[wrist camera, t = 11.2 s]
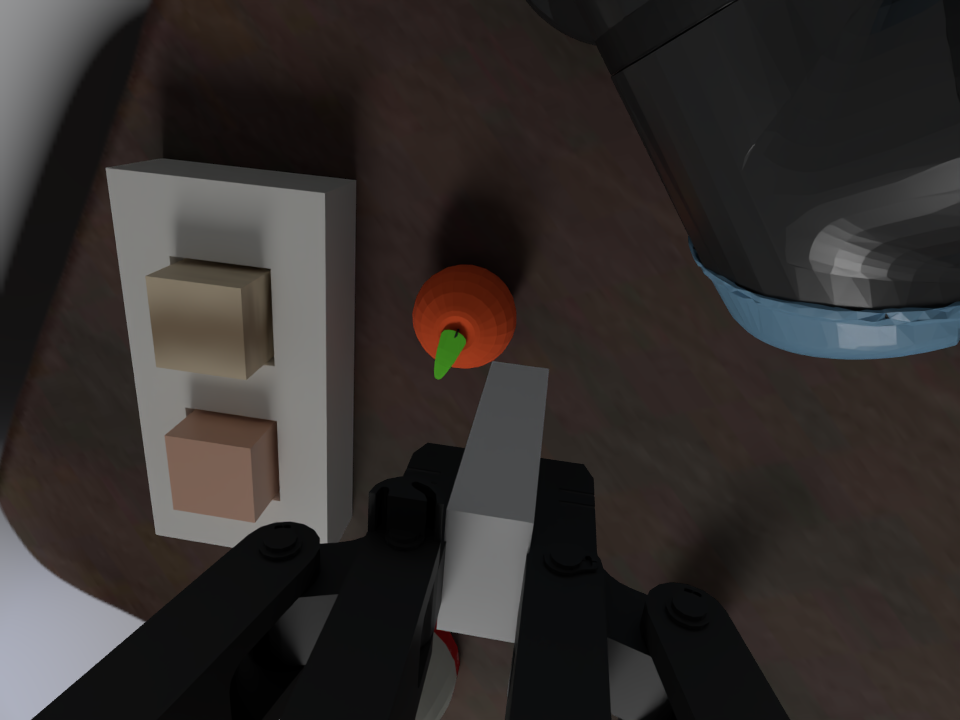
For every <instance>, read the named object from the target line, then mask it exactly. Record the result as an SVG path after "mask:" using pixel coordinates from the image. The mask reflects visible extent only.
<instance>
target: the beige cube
mask: <svg viewBox="0 0 960 720" xmlns="http://www.w3.org/2000/svg"><path fill="white" fill-rule="evenodd" d="M145 279H146V287H147V295H148V304H149V312H150V320H151V328H152V337H153V345H154V353H155V361H156V367H159V368H166V369H172V370H179V371H186V372H193V373H200V374H207V375H214V376H221V377H228V378H235V379H242V380H247V379H248V378H249V377H250V376H252V375H253V374H254V373H255V372H256V371H257V370H258V369H259V368H261V367H262V366H263V365H264V364H265V363H266V362H267V361H269V360H270V359H271V358H272V357H273V356H274V338H273V314H272V290H271V269H269V268H261V267H253V266H245V265H237V264H229V263H222V262H214V261H206V260H198V259H190V258H185V259H183V260H181V261H178V262H176V263H174V264H172V265H169V266H167V267H165V268H162V269H160V270H158V271H155V272H153V273H151V274H149V275H146V276H145Z"/></svg>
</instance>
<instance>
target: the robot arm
mask: <svg viewBox="0 0 960 720" xmlns="http://www.w3.org/2000/svg"><path fill="white" fill-rule="evenodd" d="M526 1H527V3H528V4H529V5H530V6H531V7H532V9H533V10H534V11H535V12H536V13H537V14H538V15H539V16H540V17H541V18H543V19H544V20H545V21H546V22H547V23H548V24H550V25H551V26H553V27H554V28H555V29H557V30H559V31H560V32H562V33H563V34H565V35H567V36H569V37H571V38H574V39H576V40H579V41H581V42H585V43H588V44H592V45H596V46H597V47H598V50H599V52H600V54H601V56H602V58H603V60H604V62H605V64H606V66H607V68H608V70H609V72H610V74H611V75H612V74H614V73H615V74H614V75H612V76H611V79H612V81H613V83H614V85H615V87H616V89H617V91H618V93H619V95H620V97H621V99H622V101H623V103H624V105H625V107H626V109H627V111H628V113H629V115H630V117H631V119H632V121H633V123H634V126H635V128H636V130H637V132H638V134H639V136H640V138H641V140H642V142H643V144H644V146H645V148H646V150H647V152H648V154H649V156H650V158H651V160H652V162H653V164H654V166H655V168H656V170H657V172H658V174H659V176H660V178H661V180H662V182H663V184H664V186H665V188H666V191H667V193H668V195H669V197H670V199H671V201H672V203H673V205H674V207H675V209H676V211H677V213H678V215H679V217H680V219H681V221H682V223H683V225H684V227H685V229H686V231H687V233H688V235H689V236H688V242H689V247H690V251H691V253H692V255H693V258H694V260H695V262H696V263H697V265H698V266H700V267H701V268H702V270H703V272H704V274H705V275H706V276H708V277H709V278H710V279H711V280H712V282H713V283H714V285H715V287H716V289H717V291H718V292H719V294H720V296H721V298H722V300H723V301H724V303H725V305H726V307H727V308H728V310H729V312H730V314H731V315H732V316H733V318H734V319H735V320H736V321H737V322H738V323H739V324H740V325H741V326H742V327H743V328H744V329H745V330H746V331H747V332H749V333H750V334H752V335H753V336H754V337H756V338H758V339H760V340H761V341H763V342H765V343H767V344H770V345H772V346H774V347H777V348H780V349H783V350H786V351H789V352H793V353H797V354H802V355H807V356H813V357H822V358H833V359H880V358H891V357H901V356H907V355H913V354H919V353H925V352H930V351H934V350H938V349H943V348H947V347H951V346H954V345H956V344H957V343H958V342H959V339H960V0H526ZM619 70H620V71H619ZM617 71H618V72H617ZM616 72H617V73H616ZM548 374H549V369H546V368H539V367H532V366H524V365H517V364H510V363H502V362H495V361H492V364H491V367H490V370H489V373H488V377H487V380H486V383H485V386H484V390H483V393H482V396H481V399H480V403H479V406H478V409H477V412H476V415H475V419H474V422H473V425H472V428H471V432H470V435H469V438H468V441H467V445H466V448H459V447H453V446H446V445H439V444H433V443H427V444H425V445H424V446H423V447H421V448H420V449H418V450H417V451H416V452H414V453H413V455H412V458H411V460H410V462H409V464H408V466H407V469H406V471H405V473H404V475H403V477H396V478H391V479H386V480H384V481H382V482H380V483H378V484H376V485H375V486H374V487H373V488H372V489H371V491H370V492H369V508H368V532H367V534H366V536H365V537H362V538H359V539H356V540H353V541H346V542H337V543H322V544H320V538H319V536H318V535H317V533H316V532H315V530H314V529H312V528H310V527H308V526H307V525H305V524H301V523H296V522H291V521H290V522H275V523H272V524H268V525H265V526H262V527H260V528H258V529H256V530H255V531H253V532H252V533H250V534H248V535H247V536H246V537H245V538H244V539H243V540H241V541H240V542H239V543H238V544H237V545H236V546H234V547H233V548H232V549H231V550H230V551H228V552H227V553H226V554H225V555H224V556H223V557H221V558H220V559H219V560H218V561H217V562H216V563H214V564H213V565H212V566H211V567H210V568H209V569H207V570H206V571H205V572H204V573H203V574H202V575H200V576H199V577H198V578H197V579H196V580H194V581H193V582H192V583H191V584H190V585H189V586H187V587H186V588H185V589H184V590H183V591H182V592H180V593H179V594H178V595H177V596H176V597H175V598H173V599H172V600H171V601H170V602H169V603H167V604H166V605H165V606H164V607H163V608H162V609H160V610H159V611H158V612H157V613H156V614H155V615H153V616H152V617H151V618H150V619H149V620H148V621H146V622H145V623H144V624H143V625H142V626H140V627H139V628H138V629H137V630H136V631H135V632H133V634H131V635H130V636H129V637H128V638H126V639H125V640H124V641H123V642H122V643H121V644H119V645H118V646H117V647H116V648H115V649H114V650H112V651H111V652H110V653H109V654H108V655H106V656H105V657H104V658H103V659H102V660H101V661H100V662H99V663H97V664H96V665H95V666H94V667H92V668H91V669H90V670H89V671H88V672H87V673H86V674H84V675H83V676H82V677H81V678H80V679H78V680H77V681H76V682H75V683H74V684H72V685H71V686H70V687H69V688H68V689H67V690H65V691H64V692H63V693H62V694H61V695H60V696H58V697H57V698H56V699H55V700H54V701H52V702H51V703H50V704H49V705H48V706H47V707H46V708H44V709H43V710H42V711H41V712H40V713H38V714H37V715H36V716H35V717H34V718H33V719H32V720H279V719H280V720H415V718H416V714H417V710H418V706H419V702H420V698H421V694H422V690H423V686H424V682H425V678H426V674H427V670H428V666H429V662H430V658H431V655H432V646H433V633H434V629H435V625H436V621H437V629H438V630H444V631H450V632H455V633H461V634H467V635H473V636H478V637H484V638H490V639H495V640H501V641H507V642H512V643H514V650H513V657H512V664H511V671H510V677H509V684H508V691H507V706H506V715H505V720H611V714H613V715H615V716H617V717H618V720H790V719H789V717H788V715H787V714H786V712H785V710H784V709H783V707H782V705H781V704H780V702H779V700H778V698H777V697H776V695H775V693H774V692H773V690H772V688H771V687H770V685H769V683H768V681H767V680H766V678H765V676H764V675H763V673H762V671H761V670H760V668H759V666H758V664H757V663H756V661H755V659H754V658H753V656H752V654H751V652H750V651H749V649H748V647H747V646H746V644H745V642H744V641H743V639H742V637H741V635H740V634H739V632H738V630H737V629H736V627H735V625H734V624H733V622H732V620H731V618H730V617H729V615H728V613H727V612H726V610H725V609H724V608H723V607H722V606H721V604H720V603H719V602H718V601H717V600H716V599H715V598H713V597H712V596H710V595H709V594H707V593H706V592H705V591H703V590H701V589H698V588H696V587H693V586H690V585H688V584H681V583H674V582H671V583H665V584H659V585H658V586H656V587H655V588H653V589H652V590H650V591H649V594H648V595H646V594H644V593H641V592H639V591H636V590H634V589H632V588H629V587H627V586H625V585H623V584H621V583H619V582H618V581H617V580H615V579H614V578H613V577H611V576H610V575H609V574H608V573H607V572H606V571H605V570H604V569H603V566H602V563H601V560H600V558H599V557H598V556H597V545H596V522H595V509H594V508H595V499H594V479H593V477H592V476H591V474H590V473H589V471H588V470H587V469H586V467H585V466H584V464H578V463H571V462H564V461H557V460H551V459H544V458H540V455H541V445H542V435H543V425H544V414H545V404H546V394H547V384H548ZM437 617H438V618H437Z"/></svg>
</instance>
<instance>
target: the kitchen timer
mask: <svg viewBox="0 0 960 720" xmlns="http://www.w3.org/2000/svg"><path fill="white" fill-rule="evenodd" d="M459 665H460V661H459V654H458V647H457V645H456V643H455V641H454V639H453V637H452V635H451V633H450V631H444V630H438V629H437V621H436V625H435V629H434V633H433V646H432V655H431V658H430V662H429V666H428V670H427V674H426V678H425V682H424V686H423V690H422V694H421V698H420V702H419V706H418V710H417V714H416V718H415V720H440V719H441V718H442V716H443V714H444V712H445V711H446V709H447V707H448V705H449V703H450V700H451V698H452V695H453V691H454V687H455V683H456V679H457V675H458V670H459Z"/></svg>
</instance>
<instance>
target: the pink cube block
mask: <svg viewBox="0 0 960 720" xmlns="http://www.w3.org/2000/svg"><path fill="white" fill-rule="evenodd" d="M164 436H165V444H166V452H167V460H168V469H169V477H170V485H171V493H172V502H173V510H179V511H185V512H191V513H198V514H204V515H210V516H216V517H222V518H228V519H234V520H240V521H246V522H252V523H255V522H256V521H257V520H258V518H259V517H260V516H261V514H262V513H263V512H264V510H265V509H266V507H267V506H268V505H269V503H270V502H271V501H272V499H273V498H274V497H275V495H276V494H277V493H278V491H279V490H280V482H279V458H278V434H277V421H273V420H266V419H260V418H253V417H246V416H240V415H233V414H226V413H220V412H213V411H206V410H200V409H195V410H194V411H193V412H192V413H191V414H189V415H188V416H187V417H186V418H185V419H183V420H182V421H181V422H180V423H179V424H177V425H176V426H175V427H174V428H173V429H172V430H170V431H169V432H168V433H167V434H166V435H164Z"/></svg>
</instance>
